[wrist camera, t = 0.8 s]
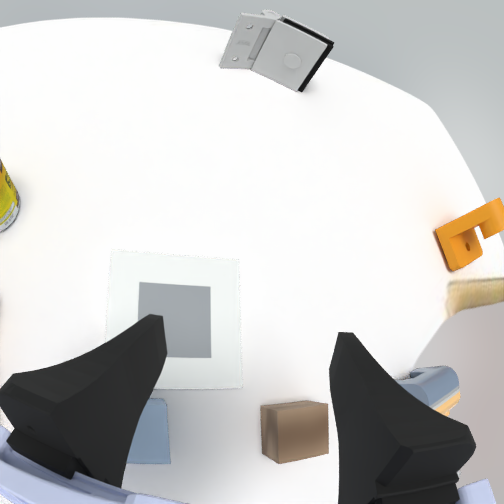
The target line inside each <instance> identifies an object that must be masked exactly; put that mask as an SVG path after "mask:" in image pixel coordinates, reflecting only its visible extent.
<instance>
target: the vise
mask: <svg viewBox="0 0 504 504" xmlns="http://www.w3.org/2000/svg"><path fill="white" fill-rule="evenodd" d="M410 375H411V379H405V380H395V381H396V382H397V383H398V384H399V385H401V386H402V387H403V388H404V389H405V390H407V391H408V392H409V393H410V394H412V395H413V396H414V397H416V398H417V399H418V400H420V401H421V402H423V403H424V404H426V405H427V406H429V407H431V408H432V409H434V410H436V411H437V412H439V413H441V414H443V415H445V416H448V415H449V414H450V412H449V410H450V409H451V408H453V407H454V406H455V405H456V404H457V403H458V401H459V399H460V390H459V381H458V377H457V374H456V373H455V371H454V370H453V369H452V368H450V367H448V366H437V367H426V368H417V369H415V370H413V371H411V372H410ZM457 474H458V477H459V476H460V475H461V471H460V470H459V471H458V472H457Z"/></svg>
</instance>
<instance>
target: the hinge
mask: <svg viewBox="0 0 504 504" xmlns="http://www.w3.org/2000/svg"><path fill="white" fill-rule="evenodd" d="M280 18H281V17H280V15H279V14H278V13H276V12H274V11H271V10H267V9H266V10H263V11H262V13H261V15H255V14H248V13H240V15H239V17H238V20H237V22H236V24H235V27H234V29H233V32H232V34H231V36H230V39H229V41H228V44H227V46H226V49H225V51H224V54H223V57H222V59H221V62H220V64H219V66H220V68H230V69H251V71H253V72H256V73H258V74H260V75H262V76H264V77H267V78H269V79H271V80H273V81H275V82H277V83H279V84H281V85H283V86H285V87H287V88H289V89H291V90H293V91H295V92H296V91H297V90H298V91H300V92H302V91H303V90H304V89H305V87H306V86H307V84H308V83H309V81H310V80H311V78H312V77H313V75H314V74H315V73H316V71H317V70H318V68H319V67H320V65H321V64H322V63H323V61H324V60H325V58H326V57H327V55H328V54H329V53H330V51H331V50H332V48H333V44H334V42H332V41H330V40H329V39H330V38H329V37H327V36H325V35H323V34H322V33H320V32H318V31H316V30H314V29H312V28H310V27H308V26H306V25H304V24H302V23H300V22H298V21H296V20H294V19H291V18H289V17H287V16H285V15H283V16H282V18H281V19H280ZM279 20H280V21H279ZM250 24H251V25H252V27H251V28H246V27H247V26H248V25H250ZM234 57H238V59H236V60H232V59H233V58H234Z"/></svg>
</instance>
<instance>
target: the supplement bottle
mask: <svg viewBox="0 0 504 504" xmlns="http://www.w3.org/2000/svg"><path fill="white" fill-rule="evenodd" d="M19 205H20V199H19V194H18V192H17V190H16V188H15V186H14V184H13V182H12V181H11V179H10V177H9V175H8V173H7V171H6V169H5V167H4V165H3V163H2V161H1V159H0V231H2V230H4V229H6V228H7V227H8V226H9V225H10V224H11V223H12V222H13V220H14V219H15V217H16V215H17V213H18V210H19Z"/></svg>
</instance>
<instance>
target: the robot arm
mask: <svg viewBox="0 0 504 504" xmlns="http://www.w3.org/2000/svg"><path fill="white" fill-rule="evenodd" d="M167 354H168V353H167V345H166V338H165V330H164V321H163V316H161V315H154V314H149V315H147V316H145V317H144V318H142V319H141V320H139V321H138V322H136V323H135V324H134V325H132V326H131V327H129V328H128V329H126V330H125V331H123V332H122V333H120V334H119V335H117V336H116V337H114V338H112V339H111V340H109V341H107V342H106V343H104V344H102V345H101V346H99V347H97V348H95V349H94V350H92V351H90V352H88V353H85V354H83V355H81V356H79V357H77V358H74V359H71V360H69V361H66V362H63V363H61V364H58V365H54V366H51V367H47V368H43V369H39V370H34V371H28V372H22V373H14V374H12V376H11V377H10V378H9V379H8V380H7V381H6V383H5V384H4V385H3V386H2V387H1V389H0V407H1V409H2V410H3V412H4V413H5V415H6V416H7V418H8V419H9V421H10V422H11V424H12V425H13V427H14V428H15V429H14V430H13V432H12V433H10V432H9V431H8V430H7V429H6V428H4V427H3V426H1V425H0V494H1V495H2V496H3V497H5V498H6V499H8V500H9V501H11V502H12V503H14V504H188V503H183V502H178V501H173V500H169V499H165V498H161V497H157V496H152V495H147V494H141V493H138V494H137V493H134V492H130V491H127V490H124V489H121V486H122V480H123V475H124V471H125V466H126V462H127V458H128V454H129V451H130V447H131V444H132V440H133V437H134V434H135V431H136V428H137V425H138V422H139V419H140V416H141V414H142V412H143V409H144V407H145V405H146V403H147V401H148V399H149V397H150V395H151V393H152V391H153V389H154V387H155V385H156V383H157V381H158V379H159V377H160V374H161V372H162V369H163V366H164V363H165V360H166V357H167ZM329 377H330V392H331V398H332V403H333V409H334V415H335V420H336V426H337V432H338V441H339V497H338V504H496V501H495V498H494V495H493V492H492V489H491V486H490V484H489V481H488V479H483V480H480V481H477V482H474V483H471V484H467V485H465V486H462V487H461V488H459V489H457V487H456V484H455V483H457V482H458V480H459V477H458V474H457V472H458V471H459V470H460V468H461V467H462V466H463V465H464V464H465V463H466V462H467V461H468V460H469V459H470V457H471V456H472V455H473V453H474V451H475V448H476V444H475V442H474V439H473V436H472V434H471V432H470V430H469V427H468V426H467V425H465V424H463V423H460V422H458V421H456V420H453V419H451V418H448V417H447V416H445V415H443V414H441V413H439V412H437V411H436V410H434V409H432V408H431V407H429V406H427V405H426V404H424V403H423V402H421V401H420V400H418V399H417V398H416V397H414V396H413V395H412V394H410V393H409V392H408V391H407V390H405V389H404V388H403V387H402V386H401V385H399V384H398V383H397V382H396V381H395V380H394V379H393V378H392V377H391V376H390V375H389V374H388V373H387V372H386V371H385V370H384V369H383V368H382V367H381V366H380V365H379V364H378V362H377V361H376V360H375V359H374V358H373V357H372V356H371V354H370V353H369V352H368V351H367V349H366V348H365V347H364V346H363V344H362V343H361V342H360V341H359V339H358V338H357V337H356V336H355V335H354V333H348V332H338V337H337V341H336V345H335V349H334V353H333V357H332V360H331V364H330V368H329Z"/></svg>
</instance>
